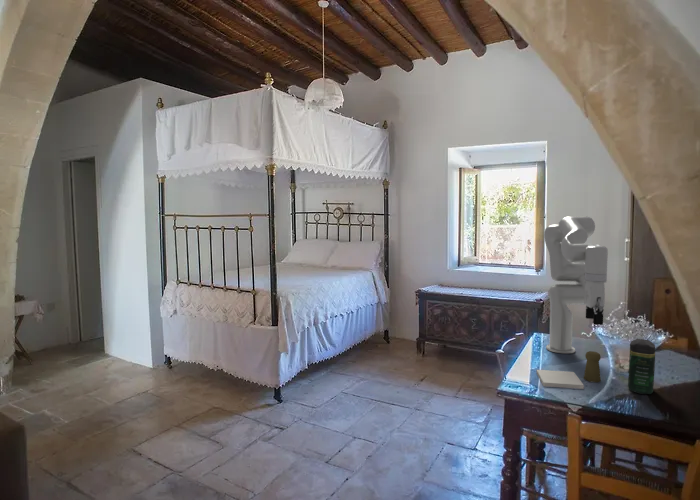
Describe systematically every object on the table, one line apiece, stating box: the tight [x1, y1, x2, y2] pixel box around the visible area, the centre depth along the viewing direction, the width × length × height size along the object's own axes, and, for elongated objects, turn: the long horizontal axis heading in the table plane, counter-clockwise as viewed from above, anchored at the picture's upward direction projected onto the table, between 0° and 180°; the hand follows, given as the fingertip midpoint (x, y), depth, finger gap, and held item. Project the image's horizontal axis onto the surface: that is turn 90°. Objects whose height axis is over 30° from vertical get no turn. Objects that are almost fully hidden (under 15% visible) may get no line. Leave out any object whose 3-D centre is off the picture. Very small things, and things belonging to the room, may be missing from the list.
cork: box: [583, 350, 602, 383], centre depth 173 cm, size 6×6×11 cm
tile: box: [536, 369, 585, 390], centre depth 172 cm, size 14×14×2 cm
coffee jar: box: [627, 338, 656, 395], centre depth 162 cm, size 10×8×19 cm
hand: (594, 321), depth 171 cm, fingers open, 9 cm apart
